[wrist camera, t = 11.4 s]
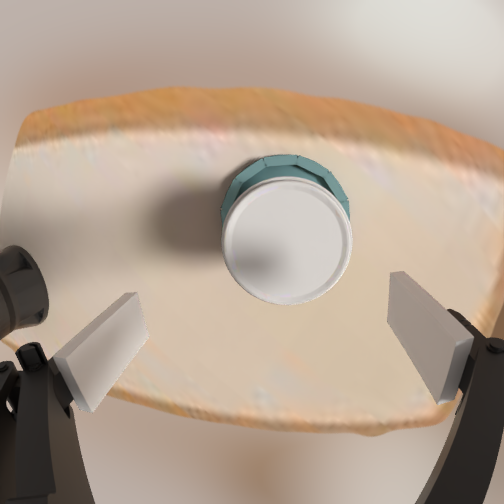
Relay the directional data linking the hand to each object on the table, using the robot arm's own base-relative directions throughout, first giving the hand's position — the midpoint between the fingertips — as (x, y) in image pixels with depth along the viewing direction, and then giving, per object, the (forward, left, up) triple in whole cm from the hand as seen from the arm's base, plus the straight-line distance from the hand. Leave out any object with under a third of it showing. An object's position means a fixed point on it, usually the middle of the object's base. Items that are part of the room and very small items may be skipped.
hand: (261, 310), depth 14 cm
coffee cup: (+1, +2, -19) cm, 19 cm away
